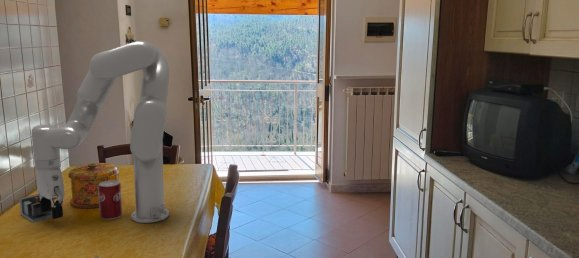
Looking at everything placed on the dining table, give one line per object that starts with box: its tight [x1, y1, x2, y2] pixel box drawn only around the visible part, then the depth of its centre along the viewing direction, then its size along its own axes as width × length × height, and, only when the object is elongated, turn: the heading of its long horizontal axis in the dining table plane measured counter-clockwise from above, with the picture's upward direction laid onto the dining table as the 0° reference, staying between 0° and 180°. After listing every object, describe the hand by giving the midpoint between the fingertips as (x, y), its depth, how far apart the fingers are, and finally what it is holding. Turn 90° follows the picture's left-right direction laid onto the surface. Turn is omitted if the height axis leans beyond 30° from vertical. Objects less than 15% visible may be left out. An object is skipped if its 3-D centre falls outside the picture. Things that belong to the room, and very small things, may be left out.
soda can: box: [97, 180, 123, 221], centre depth 157 cm, size 7×7×12 cm
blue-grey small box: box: [31, 197, 53, 216], centre depth 156 cm, size 5×6×5 cm
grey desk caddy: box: [18, 193, 53, 223], centre depth 157 cm, size 10×8×6 cm
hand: (51, 214), depth 150 cm, fingers open, 8 cm apart
